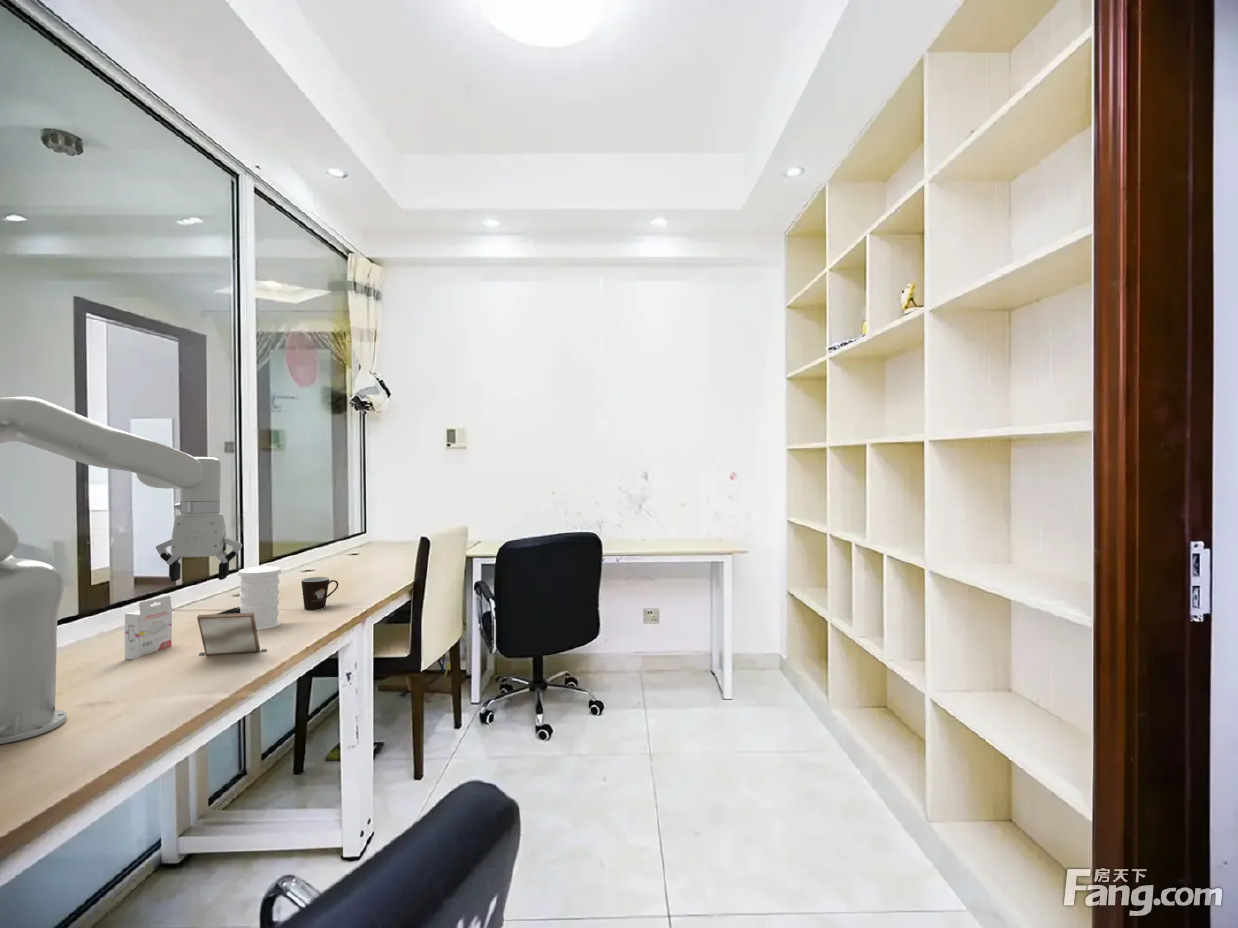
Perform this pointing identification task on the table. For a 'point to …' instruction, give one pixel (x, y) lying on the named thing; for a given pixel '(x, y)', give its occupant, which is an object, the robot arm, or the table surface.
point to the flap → (229, 633)
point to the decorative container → (260, 595)
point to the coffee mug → (316, 592)
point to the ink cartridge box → (148, 628)
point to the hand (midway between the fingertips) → (199, 579)
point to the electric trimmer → (231, 611)
